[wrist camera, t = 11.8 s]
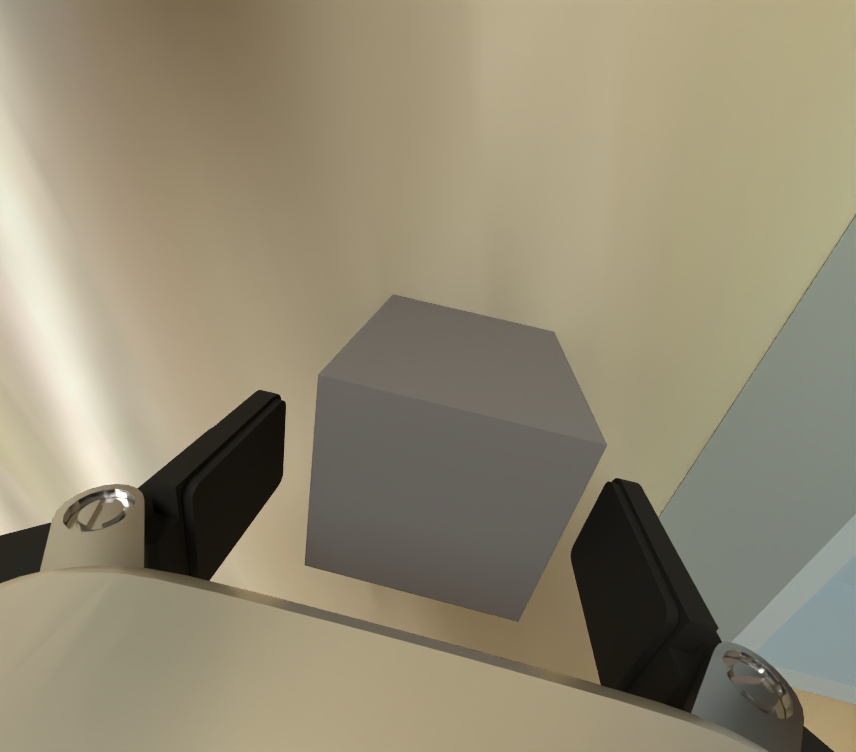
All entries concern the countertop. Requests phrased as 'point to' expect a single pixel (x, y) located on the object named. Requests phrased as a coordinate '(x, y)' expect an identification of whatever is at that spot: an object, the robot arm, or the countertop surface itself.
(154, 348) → the countertop surface
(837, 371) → the bin
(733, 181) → the countertop surface
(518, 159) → the countertop surface
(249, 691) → the robot arm
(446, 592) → the charcoal block
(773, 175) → the countertop surface
